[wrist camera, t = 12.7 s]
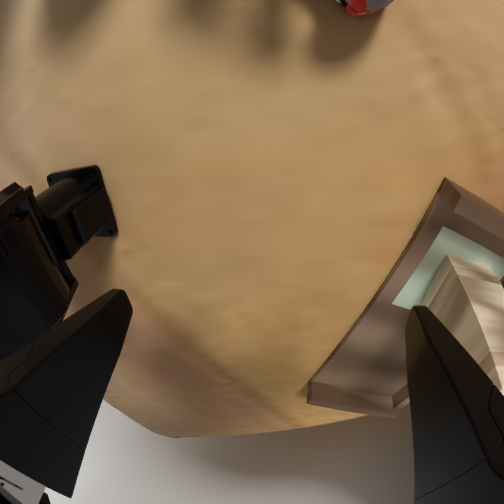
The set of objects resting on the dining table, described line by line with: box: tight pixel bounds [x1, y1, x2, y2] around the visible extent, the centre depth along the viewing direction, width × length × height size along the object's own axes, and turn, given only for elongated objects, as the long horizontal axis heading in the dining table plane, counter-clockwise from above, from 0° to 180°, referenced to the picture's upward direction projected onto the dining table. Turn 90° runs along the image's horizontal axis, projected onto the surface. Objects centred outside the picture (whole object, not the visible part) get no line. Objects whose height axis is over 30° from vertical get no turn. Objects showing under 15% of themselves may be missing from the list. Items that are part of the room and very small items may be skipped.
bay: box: [307, 178, 504, 418], centre depth 24 cm, size 26×12×3 cm, turn 165°
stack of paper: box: [420, 254, 504, 395], centre depth 16 cm, size 5×5×12 cm
